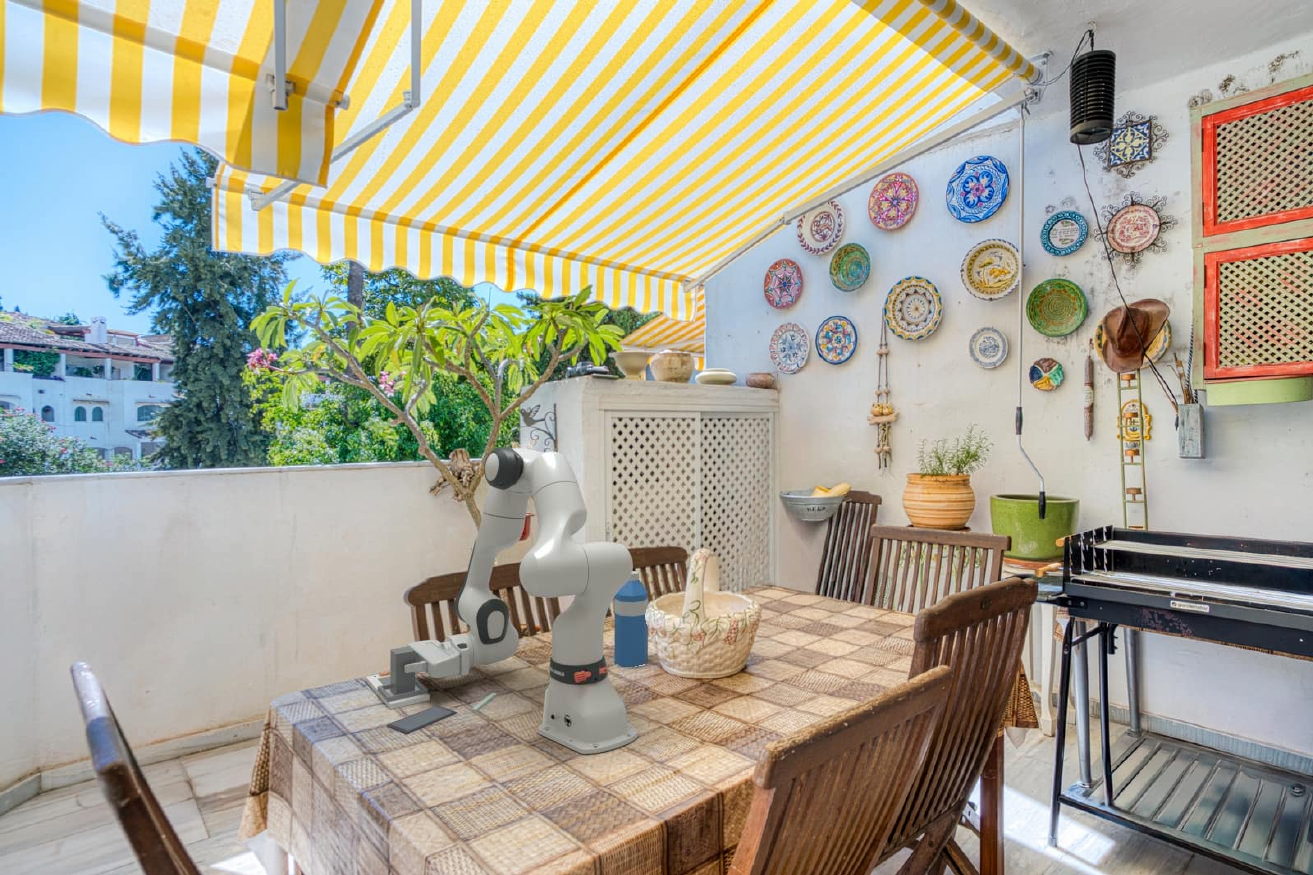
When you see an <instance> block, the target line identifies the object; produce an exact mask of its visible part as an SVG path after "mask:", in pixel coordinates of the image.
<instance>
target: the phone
mask: <svg viewBox="0 0 1313 875" xmlns="http://www.w3.org/2000/svg"><path fill="white" fill-rule="evenodd" d="M457 714H458V712H457V711H455V710H453V709H450V708H446V707H443V706H442V705H441V706H440V705H437V704H436V705H433V706H431V707H429V708H426V709H424V710H421V711H419V712H415V713H414V714H411V715H408V716H406V717H403V718H400V719H399V720H395V721H394V722H390V723H387V724H386V727H387V728H389V729H391V730H394V731H397V732H399V733H401V734H404V735H409V734H411V733H412V734H413V733H414V732H416V731H418V730H421V729H423V728H426V727H428V726H430V725H433V724H435V723H437V722H440V721H442V720H445V719H447V718H449V717H452V716H455V715H457Z"/></svg>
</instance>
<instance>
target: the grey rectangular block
mask: <svg viewBox="0 0 1313 875" xmlns="http://www.w3.org/2000/svg"><path fill="white" fill-rule="evenodd" d="M389 658H390V660H389V661H390V664H389V665H390V666H389V668H390V691H391V692H392V693H393V695H398V694H402V693H407V692H411V691H415V678H416V672H410V673H405V672H404V671H403V665H404V664H407V663H415V650H414V649H413V648H411V647H410V646H407V645H406V646H402V647H397V648H392V649H390V657H389Z"/></svg>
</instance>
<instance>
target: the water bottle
mask: <svg viewBox="0 0 1313 875" xmlns="http://www.w3.org/2000/svg"><path fill="white" fill-rule="evenodd" d="M639 574H640V572H639V571H636V570H635V571H633V570H632V574H631V577H630V579H629V580H628V582H627V583H626V584H625V585H624V586H623V587H622V588H621V589H620V590H619V591H618V592H617V594H616V595H615V597H614V653H613V654H614V664H615V665H616V664H618V665H619V666H621V667H620V668H625V667H635V666H639V665H643V664H646V665H647V663H648V662H649V625H648V626H647V624H646V620H645V613H646V609H647V606H648V607H649V591H648V590H647V589H646V587H645V585H644V584H643V583H642V582H641V580H640V576H639ZM647 661H648V662H647ZM646 662H647V663H646ZM618 665H617V666H618ZM619 666H618V667H619Z"/></svg>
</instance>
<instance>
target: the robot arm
mask: <svg viewBox="0 0 1313 875" xmlns="http://www.w3.org/2000/svg"><path fill="white" fill-rule="evenodd" d="M483 469H484V470H483V471H484V472H483V473H484V478H485V480H486V482H487V484H488V485H489V486H488V490H487V493H486V496H485V500H484V504H483V510H482V514H481V519H480V525H479V529H478V532H477V535H476V538H475V541H474V543H473V548H472V551H471V555H470V559H469V564H468V566H467V571H466V575H465V578H464V582H463V584H462V586H461V588H460V589H459V591H458V593H457V594H456V597H455V598H454V604H453V610H454V613H455V616H456V617H457V618H458V620H460V621H461V622H463V623H465V624H468V626H469V631H467V632H464V633H458V634H457V633H456V634H454V635H453V634H452V635H447V636H446V637H445V639H444V640H443V641H442V642H440V640H437V639H427V640H420V641H412V642H409V643H407V645H406V647H407V646H410V647H411V648H413V649H414V650H415V663H407V664H404V665H403V671H404V672H405V673H410V672H415V673H426V674H427V675H428V676H429V677H431V679H441V678H442V679H443V678H450V677H454V676H462V677H464V676H468V675H469V674H470V669H473V668H474V667H476V666H487V665H492V664H495V663H500V662H502V661H503V662H504V661H505V660H507V659H510V658H511V657H513V656H514V655H515V654H516V652H517V651H518V648H519V643H520V641H519V639H520V638H519V632H518V631H517V629H516V628H515V626H514V625H513V623H512V621H511V618H510V609H509V607H508V604H507V603H506V602H505V601H504V600H502V599H501V598H499V597H498V596H496V595H495V594H494V593H492V591H491V590H490V580H491V576H492V572H493V569H494V565H495V564H494V563H495V561H496V558H497V555H498V554H500V552H502V551H504V550H507V549H510V548H512V547H514V546H515V545H516V544H517V543H519V541H520V540H521V537H522V535H523V533H524V532H523V531H524V530H525V529H524V528H525V524H526V519H527V512H528V503H529V501H530V500H529V499H530V498H531V497H532V500H533V503H534V504H533V505H534V507H535V512H536V518H537V522H538V536H537V539H536V541H535V543H534V544H533V546H532V548H531V549H529V550H528V551H527V552H526V554H525V555H524V556H523V558H522V560H521V562H520V565H519V573H518V575H519V580H520V581H519V582H520V583H521V586H522V588H523V589H524V591H525V592H526V593H527V594H528V595H529V596H531V597H538V598H539V597H540V598H551V599H553V598H560V597H569V596H574V598H573V601H572V602H571V604H570V605H569V606H568V607H567V608H566V609H564V610H563V611H562V612H560V613H559V614H558V615H557V616H556V617H555V619H554V622H553V624H552V629H551V631H552V632H551V636H552V637H551V640H552V641H551V657H550V659H549V676H550V677H551V678H550V682H549V684H548V686H547V687H546V689H545V693H544V701H543V702H544V703H543V713H542V722H541V723H540V725H538V727H537V734H539V735H540V736H543V737H546V738H547V739H549V740H552V741H554V742H556V743H558V744H560V745H563V746H565V748H568V749H570V750H573V751H576V753H579V754H582V755H588V754H589V755H590V754H600V753H603V752H607V751H611V750H615V749H618V748H620V747H623V746H626V745H627V744H630V743H632V742H633V741H635V740H636V739H637V738H638V737H639V730H638V729H637V728H636V727H635V726H634V725H632V723H631V722H629V721H628V720H627V718H628V716H627V708H626V698H625V696H624V695H619V693H618V692H617V690H616V689H615V687H614V685H613V684H612V682H611V680H610V679H609V676H608V675H609V672H610V670H608V669H609V668H610V666H607V661H606V658H605V655H604V632H605V630H604V629H605V623H606V622H605V621H606V618H607V613H608V611H609V608H610V606H611V604H612V602H613V600H614V599H615V595H616V594H617V592H618V591H619V590H620V589H621V588H622V587H623V586H624V585H625V584H626V583H627V582H628V580H629V579H630V577H631V574H632V571H633V568H634V567H633V566H634V564H633V563H634V562H633V558H632V555H631V552H630V551H629V550H628V548H627V547H626V546H625V545H624V544H622V543H618V542H614V541H613V542H612V541H604V540H602V541H589V542H581V543H579V542H578V543H577V542H574V541H573V539H572V536H573V535H575V534H576V533H578V532H579V531H580V530H581V529H582V528H583V527H584V526H585V524H586V522H587V517H588V511H587V508H586V504H585V501H584V498H583V494H582V492H581V489H580V485H579V483H578V482H579V481H578V479H577V477H576V475H575V472H574V470H573V468H572V466H571V464H570V462H569V461H568V458H566V456H564V455H563V454H562V453H560V452H558V451H554V450H553V451H538V450H535V449H531V448H521V447H510V446H501V447H495V448H494V449H491V451H490V452H489V454H488V455H487V456H486V459H485V461H484V468H483Z"/></svg>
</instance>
